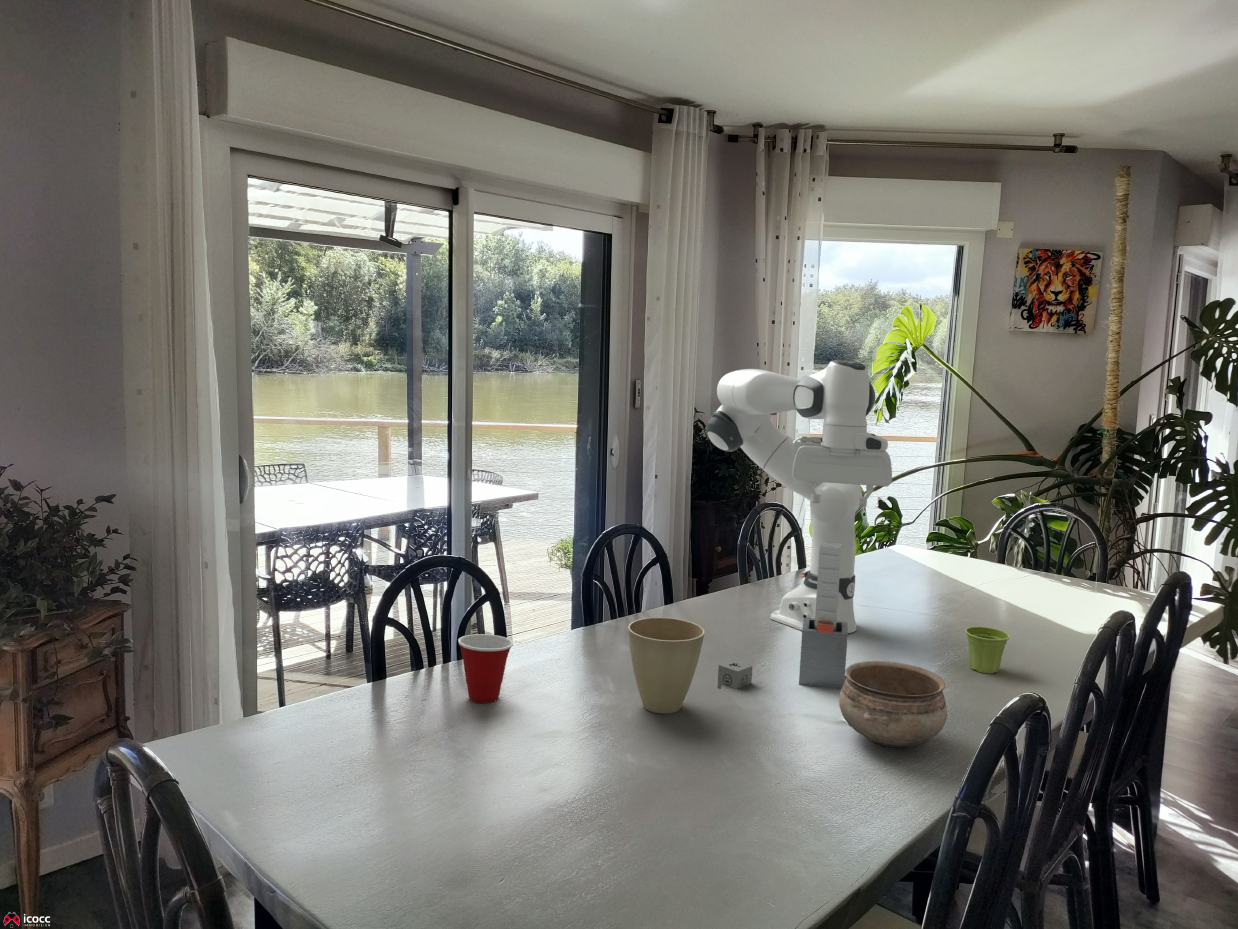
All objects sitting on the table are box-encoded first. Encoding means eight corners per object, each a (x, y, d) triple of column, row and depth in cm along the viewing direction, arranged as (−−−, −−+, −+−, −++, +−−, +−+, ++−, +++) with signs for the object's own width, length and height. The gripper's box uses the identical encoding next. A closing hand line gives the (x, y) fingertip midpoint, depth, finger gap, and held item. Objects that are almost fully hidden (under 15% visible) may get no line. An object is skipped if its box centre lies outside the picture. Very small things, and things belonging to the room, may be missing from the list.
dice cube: (732, 682, 193) (733, 659, 192) (751, 689, 189) (752, 666, 189) (717, 687, 189) (718, 664, 189) (736, 694, 186) (737, 671, 185)
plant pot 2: (1010, 678, 201) (1014, 641, 200) (965, 674, 203) (969, 636, 202) (1001, 664, 210) (1004, 628, 209) (958, 660, 212) (962, 624, 211)
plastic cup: (523, 698, 180) (524, 640, 178) (480, 713, 172) (482, 652, 170) (488, 683, 187) (489, 627, 185) (445, 697, 179) (446, 638, 177)
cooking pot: (925, 782, 150) (931, 711, 149) (816, 752, 160) (820, 685, 159) (957, 731, 171) (963, 669, 170) (859, 707, 181) (863, 649, 180)
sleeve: (780, 693, 187) (785, 626, 185) (785, 668, 203) (789, 605, 201) (860, 703, 183) (865, 634, 182) (859, 676, 199) (863, 613, 197)
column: (813, 640, 189) (819, 546, 187) (814, 633, 194) (820, 542, 192) (835, 642, 188) (841, 548, 186) (835, 635, 193) (841, 543, 191)
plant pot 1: (648, 727, 168) (651, 644, 166) (612, 698, 181) (614, 621, 179) (715, 714, 175) (719, 635, 173) (675, 688, 188) (679, 614, 186)
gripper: (792, 437, 186) (788, 503, 188) (895, 443, 182) (890, 510, 183) (793, 434, 193) (789, 498, 194) (893, 440, 188) (888, 505, 189)
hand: (839, 504), depth 189 cm, fingers open, 8 cm apart
